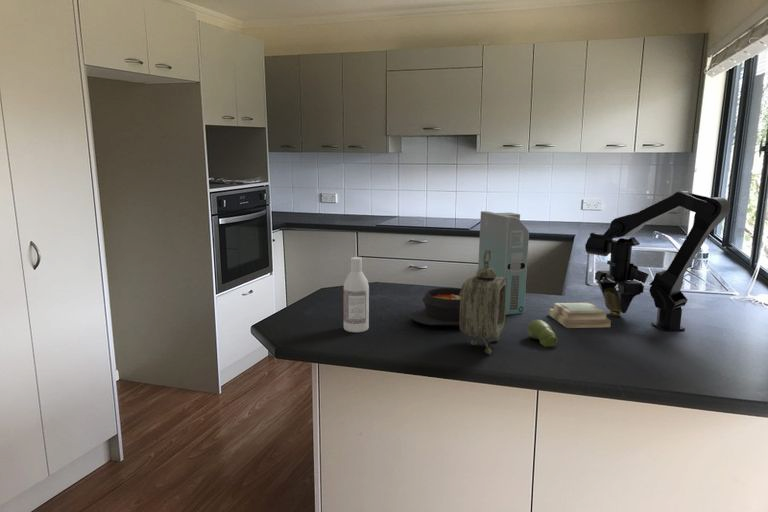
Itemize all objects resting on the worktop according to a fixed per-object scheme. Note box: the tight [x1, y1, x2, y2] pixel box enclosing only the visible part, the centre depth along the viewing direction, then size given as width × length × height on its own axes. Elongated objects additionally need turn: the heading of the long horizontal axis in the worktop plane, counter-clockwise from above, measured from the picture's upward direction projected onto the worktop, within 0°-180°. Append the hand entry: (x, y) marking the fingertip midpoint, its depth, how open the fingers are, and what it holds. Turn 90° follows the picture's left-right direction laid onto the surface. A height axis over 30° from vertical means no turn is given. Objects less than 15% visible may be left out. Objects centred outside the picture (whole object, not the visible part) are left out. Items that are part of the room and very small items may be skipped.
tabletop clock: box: [458, 249, 507, 355], centre depth 143 cm, size 14×9×25 cm, turn 158°
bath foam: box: [343, 256, 370, 333], centre depth 156 cm, size 7×7×20 cm
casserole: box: [409, 287, 461, 328], centre depth 165 cm, size 25×19×8 cm
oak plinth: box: [548, 302, 612, 329], centre depth 168 cm, size 13×13×4 cm
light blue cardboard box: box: [477, 210, 530, 316], centre depth 179 cm, size 16×8×30 cm, turn 19°
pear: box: [527, 319, 559, 348], centre depth 149 cm, size 6×5×10 cm
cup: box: [604, 287, 623, 317], centre depth 174 cm, size 8×7×8 cm
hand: (615, 308), depth 174 cm, fingers open, 9 cm apart
